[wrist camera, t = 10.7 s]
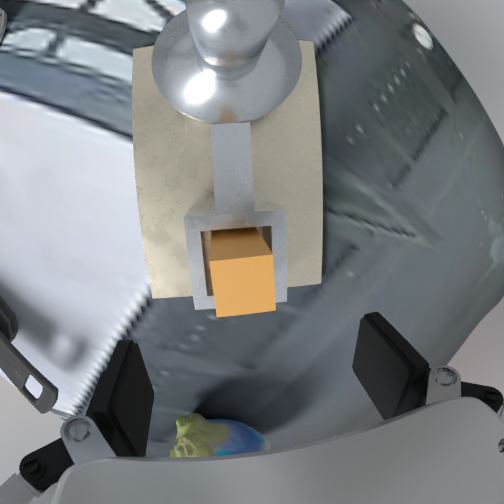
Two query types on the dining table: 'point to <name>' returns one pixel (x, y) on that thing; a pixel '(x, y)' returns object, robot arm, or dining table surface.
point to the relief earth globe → (215, 438)
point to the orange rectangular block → (241, 272)
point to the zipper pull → (22, 364)
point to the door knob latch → (227, 144)
